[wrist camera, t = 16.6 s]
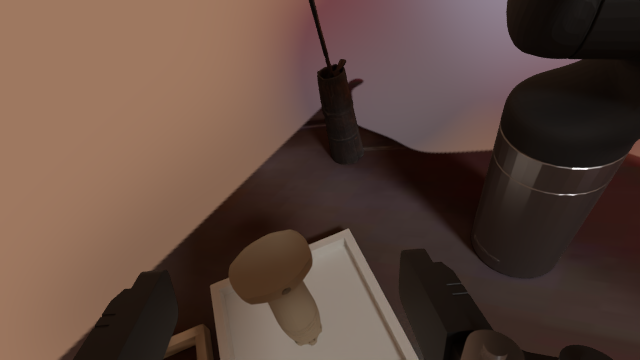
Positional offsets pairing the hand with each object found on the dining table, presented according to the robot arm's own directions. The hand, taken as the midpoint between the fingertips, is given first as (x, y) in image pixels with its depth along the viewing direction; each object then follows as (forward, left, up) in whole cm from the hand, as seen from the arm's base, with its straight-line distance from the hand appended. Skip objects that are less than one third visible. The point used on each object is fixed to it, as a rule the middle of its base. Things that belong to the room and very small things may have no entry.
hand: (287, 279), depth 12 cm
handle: (+2, -9, -27) cm, 28 cm away
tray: (+2, -9, -27) cm, 29 cm away
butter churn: (-14, -34, -28) cm, 46 cm away
